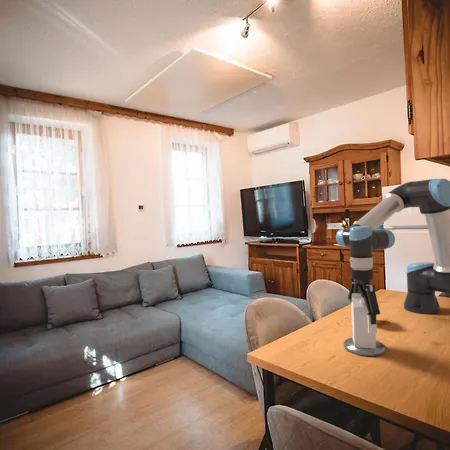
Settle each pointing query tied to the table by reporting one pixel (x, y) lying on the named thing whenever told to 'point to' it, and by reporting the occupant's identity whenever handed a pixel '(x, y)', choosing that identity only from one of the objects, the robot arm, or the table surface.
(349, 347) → the duct flange
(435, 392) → the table surface
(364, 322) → the milk carton
